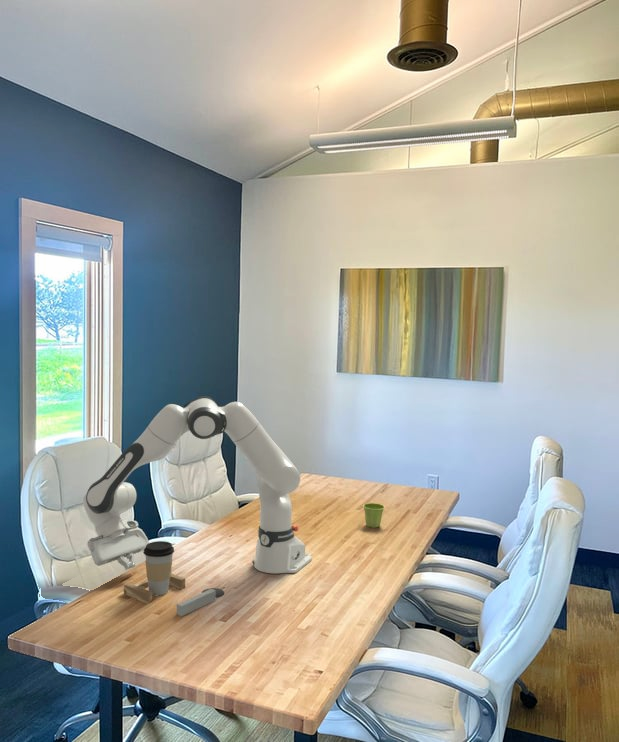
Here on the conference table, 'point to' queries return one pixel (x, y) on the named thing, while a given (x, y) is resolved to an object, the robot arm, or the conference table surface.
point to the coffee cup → (158, 566)
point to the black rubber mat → (218, 592)
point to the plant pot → (373, 514)
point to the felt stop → (196, 602)
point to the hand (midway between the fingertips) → (130, 567)
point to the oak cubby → (146, 595)
